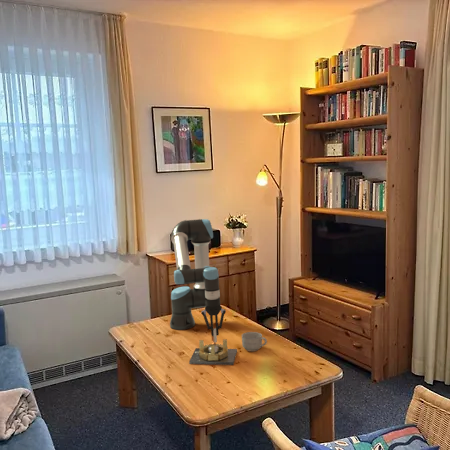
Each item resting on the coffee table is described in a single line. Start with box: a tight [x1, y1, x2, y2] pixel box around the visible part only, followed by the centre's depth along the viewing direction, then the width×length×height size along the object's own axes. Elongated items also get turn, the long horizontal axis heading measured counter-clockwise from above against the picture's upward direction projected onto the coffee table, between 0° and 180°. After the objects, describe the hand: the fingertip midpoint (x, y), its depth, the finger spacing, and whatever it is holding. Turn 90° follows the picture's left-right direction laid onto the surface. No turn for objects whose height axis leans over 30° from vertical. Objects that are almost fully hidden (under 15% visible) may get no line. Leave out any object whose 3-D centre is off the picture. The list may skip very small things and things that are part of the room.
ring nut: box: [198, 335, 229, 361], centre depth 243 cm, size 14×14×8 cm
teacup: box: [241, 331, 268, 352], centre depth 251 cm, size 14×11×8 cm
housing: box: [188, 346, 238, 366], centre depth 244 cm, size 16×22×6 cm
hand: (215, 341), depth 249 cm, fingers closed
